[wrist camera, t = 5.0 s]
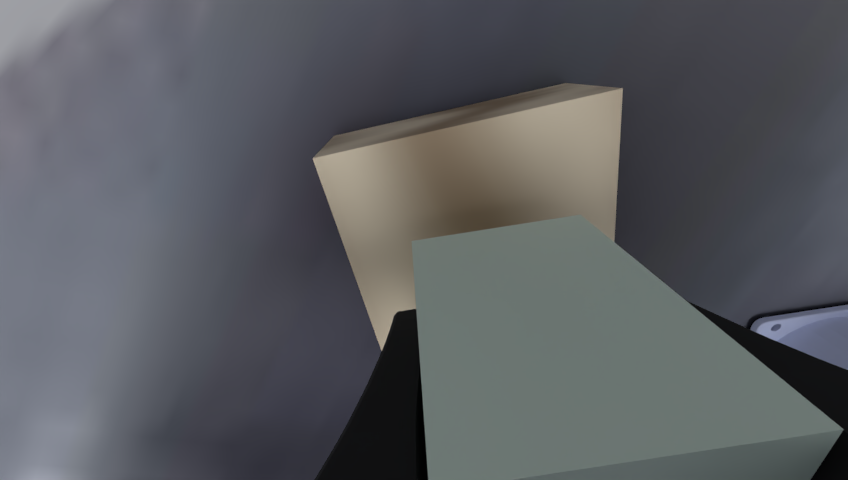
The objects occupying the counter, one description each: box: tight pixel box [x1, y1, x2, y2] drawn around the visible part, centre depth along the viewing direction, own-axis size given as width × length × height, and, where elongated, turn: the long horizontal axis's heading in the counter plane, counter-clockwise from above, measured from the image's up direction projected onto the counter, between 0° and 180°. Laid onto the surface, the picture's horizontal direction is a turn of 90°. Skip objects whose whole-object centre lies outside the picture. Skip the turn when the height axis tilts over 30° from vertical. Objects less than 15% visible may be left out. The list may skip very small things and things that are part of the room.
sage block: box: [412, 215, 844, 480], centre depth 7 cm, size 4×4×6 cm
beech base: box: [313, 83, 623, 351], centre depth 14 cm, size 9×9×4 cm
